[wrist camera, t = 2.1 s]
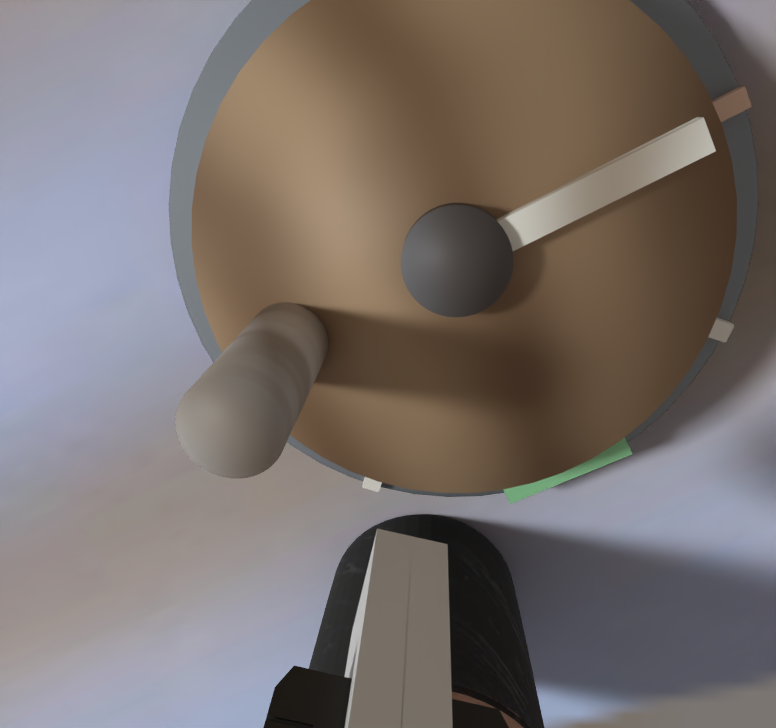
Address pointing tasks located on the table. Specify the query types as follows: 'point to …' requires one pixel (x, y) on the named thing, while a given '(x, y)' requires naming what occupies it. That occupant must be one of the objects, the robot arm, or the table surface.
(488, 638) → the travel mug
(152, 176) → the table surface
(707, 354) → the gauge plate
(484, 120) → the dial
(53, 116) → the table surface
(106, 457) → the table surface
